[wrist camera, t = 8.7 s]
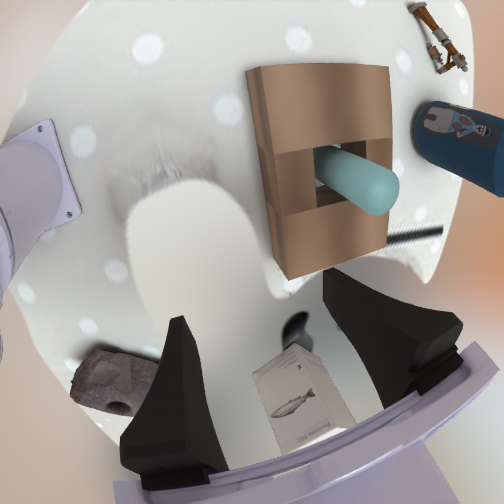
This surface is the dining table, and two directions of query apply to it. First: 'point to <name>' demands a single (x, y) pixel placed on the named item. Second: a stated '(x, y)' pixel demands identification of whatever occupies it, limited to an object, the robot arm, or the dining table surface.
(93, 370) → the perforated stone tool
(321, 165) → the peg
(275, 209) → the hole block
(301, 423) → the supplement box
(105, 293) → the dining table surface
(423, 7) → the brown long banded part
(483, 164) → the soda can
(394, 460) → the robot arm
